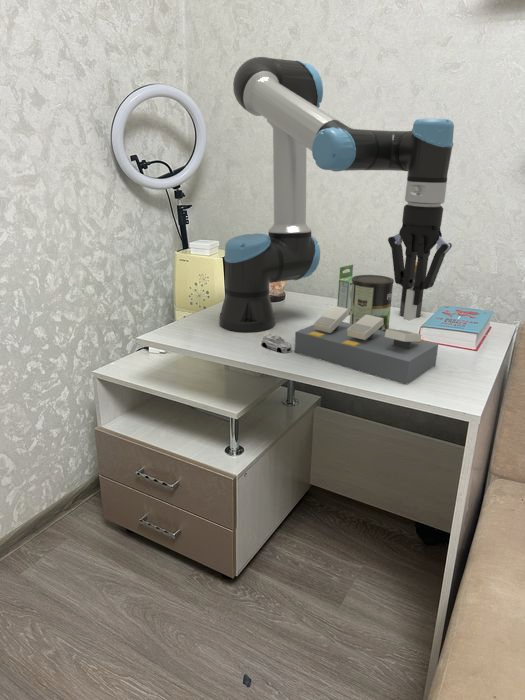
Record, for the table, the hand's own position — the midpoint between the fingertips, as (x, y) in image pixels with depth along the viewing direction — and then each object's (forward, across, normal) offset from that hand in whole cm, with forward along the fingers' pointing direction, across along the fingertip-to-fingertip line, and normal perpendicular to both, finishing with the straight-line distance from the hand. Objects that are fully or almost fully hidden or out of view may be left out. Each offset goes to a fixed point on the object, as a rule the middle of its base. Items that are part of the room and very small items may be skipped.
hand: (409, 318), depth 112 cm
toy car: (+11, -27, -11) cm, 31 cm away
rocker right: (+3, 0, -3) cm, 4 cm away
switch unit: (+11, -8, -3) cm, 14 cm away
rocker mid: (+3, -8, -3) cm, 10 cm away
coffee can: (+11, -17, +15) cm, 25 cm away
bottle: (+11, -16, +37) cm, 42 cm away
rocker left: (+3, -18, -3) cm, 18 cm away
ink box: (+12, -31, +28) cm, 43 cm away
